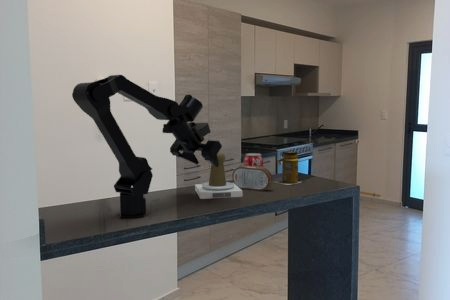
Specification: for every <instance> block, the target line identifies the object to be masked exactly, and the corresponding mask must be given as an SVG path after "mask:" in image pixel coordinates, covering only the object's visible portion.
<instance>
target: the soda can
mask: <svg viewBox="0 0 450 300" xmlns="http://www.w3.org/2000/svg"><path fill="white" fill-rule="evenodd" d="M243 165H246V166H257V167H264V158H263V157H262V153H258V152H257V153H256V152H251V153H245V157H244V158H243Z"/></svg>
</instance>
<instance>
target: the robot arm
mask: <svg viewBox="0 0 450 300" xmlns="http://www.w3.org/2000/svg"><path fill="white" fill-rule="evenodd" d="M116 94H119V95H121V96H123V97H125V98H126V99H128V100H131V101H132V102H134V103H136V104H137V105H139V106H142V107H143V108H145V109H146V110H147V111H148V113H149V114H150V115H151V116H152V117H153V118H155V119H156V120H159V121H167V122H166V123H164V124H163V126H162V127H163V128H162V133H163V134H172V135H173V137H174V138H175V140H174V141H173V143H172V144H171V146H170V148H169V152H170V154H172V156H176V157H177V158H179V159H183V160H184V161H187V162H190V163H192V164H195V165H198V164H199V163H200V161H199V160H198V158H197V156H196V155H195V152H196V151H198V152H199V151H200V155H201V157H202V158H203V159H204V161H206V162H208V163H209V164H210V165H211V164H212V165H214V166H216V167H218V166H219V162H218V157H217V154H218V153H220V150H221V149H222V147H223V145H222V143H221V142H220V141H219V140H215V139H214V140H213V139H212V140H210V139H209V140H207V142H206V143H203V142H204V141H205V136H207V135H208V134H211V128H210V125H209V123H208V122H194V121H195V120H196V118H197V117H198V115H199V113H200V112H202V109H203V107H204V106H203V103H202V101H200V100H199V99H197V98H195V97H193V96H192V95H191V94H185V95H184V97H183V99H182V101H181V102H180V103H178V102H177V101H176V100H173V99H170V98H166V97H162V96H158V95H155V94H154V93H152V92H151V91H149V90H147V89H145V88H144V87H141V86H140V85H138V84H137V83H135V82H133V81H132V80H129V79H128V78H126V76H124V75H123V74H111V75H108V76H107V77H104V78H102V79H98V80H95V81H91V82H79V83H77V84H76V85H75V86H74V87H73V90H72V93H71V95H72V99H73V101H74V102H75V104H76V105H77V106H78V107H79V108H80V110H82V112H84V113H85V114H86V115H87V116H89V117H90V118H91V119H92V120H93V122H94V123H95V125H96V126H97V129H98V130H99V132H100V133H101V135H102V137H103V138H104V140H105V142H106V143H107V144H108V147H109V148H110V150H111V152H112V154H113V155H114V157H115V159H116V160H117V162H118V172H119V176H120V177H119V178H118V179H117V181H116V182H115V183H114V184H113V188H114V190H115V193H118V194H119V204H120V205H119V206H120V207H119V209H120V213H119V218H120V219H128V218H131V219H132V218H144V217H145V214H147V200H146V196H145V195H148V194H149V191H150V186H151V183H152V178H153V176H154V175H153V172H152V170H153V167H151V166H150V164H149V162H148V160H147V158H146V157H142V156H136V154H135V153H134V151H133V149H132V147H131V145H130V143H129V141H128V140H127V139H126V136H125V135H124V133H123V131H122V129H121V128H120V126H119V124H118V122H117V120H116V118H115V116H113V113H112V111H111V99H110V97H113V96H115V95H116Z"/></svg>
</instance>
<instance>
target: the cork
mask: <svg viewBox="0 0 450 300" xmlns="http://www.w3.org/2000/svg"><path fill="white" fill-rule="evenodd" d="M217 157H218V162H219V166H218V167H216V166H214V165H212V164H210V173H209V180H208V182H209V186H215V187H219V186H225V185H226V182H227V180H226V173H225V165H224V162H225V161H226V156H225V153H223V152H218V154H217Z"/></svg>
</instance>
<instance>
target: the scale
mask: <svg viewBox="0 0 450 300" xmlns="http://www.w3.org/2000/svg"><path fill="white" fill-rule="evenodd" d="M194 189H195V192H196V194H197V196H198V197H199V199H200V200H206V199H224V198H225V199H226V198H227V199H228V198H243V190H242V189H241V188H239V187H238V186H237V185H235V184H234V182H229V181H226V185H225V186H219V187H215V186H209V181H207V182H204V183H199V184H194Z"/></svg>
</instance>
